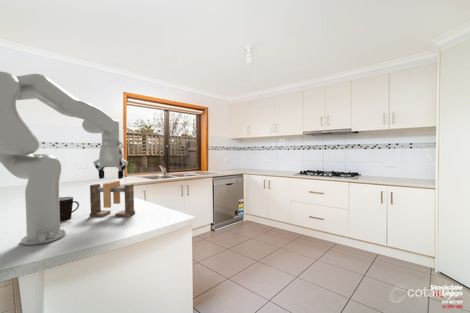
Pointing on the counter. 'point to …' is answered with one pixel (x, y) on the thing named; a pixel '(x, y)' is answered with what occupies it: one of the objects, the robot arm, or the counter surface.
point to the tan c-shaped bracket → (107, 193)
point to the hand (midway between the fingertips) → (111, 178)
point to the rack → (98, 212)
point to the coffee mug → (66, 207)
